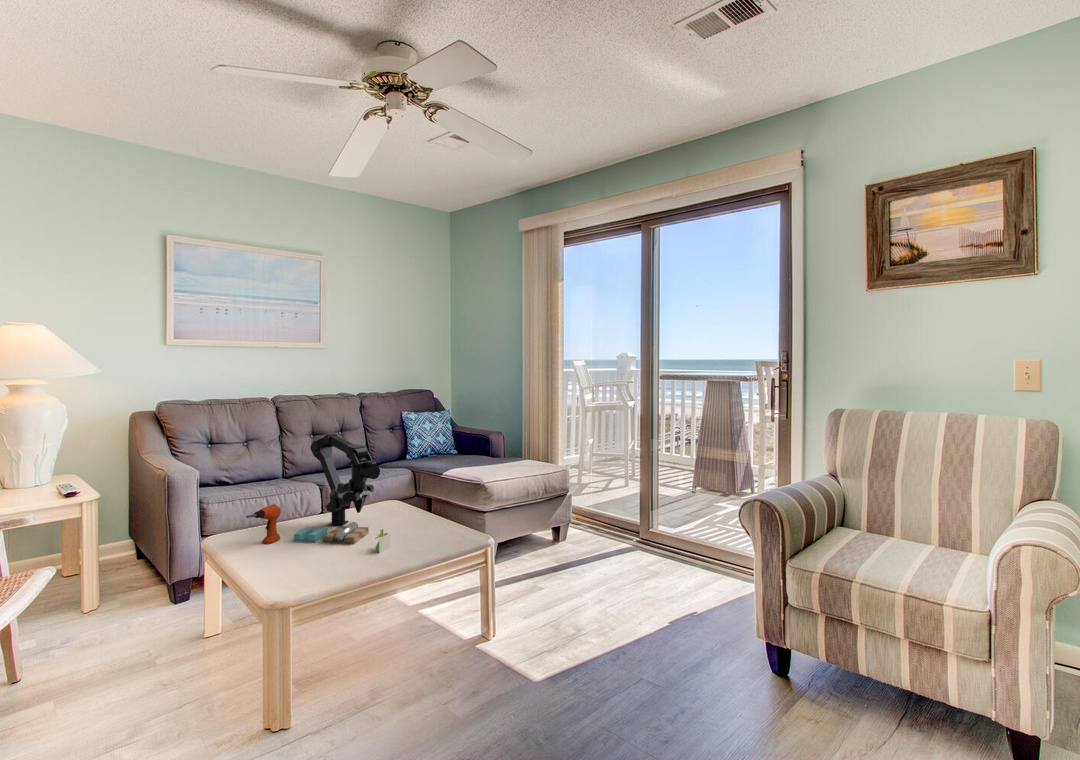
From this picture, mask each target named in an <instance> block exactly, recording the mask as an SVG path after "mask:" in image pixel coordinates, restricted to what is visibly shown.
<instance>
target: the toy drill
mask: <svg viewBox="0 0 1080 760" xmlns="http://www.w3.org/2000/svg"><path fill="white" fill-rule="evenodd" d="M281 511H282V509H281V507H280V506H279V505H277V504H276V503H273V504H271V505H268V506H264V507H263V508H261V509H259V510H257V511H255V512H254V513H252V514H247V515H246V516H245V518H246V519H249V518H255V519H263V520H267V522H266V526H265V530H266V535H265V537H263V539H262V540H261V544H263V545H272V544H274V543H277V542H278V541H280V540H281V536H280V533H278V530H277V521H278V519H279V517H280V516H281Z"/></svg>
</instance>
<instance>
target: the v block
mask: <svg viewBox="0 0 1080 760" xmlns="http://www.w3.org/2000/svg"><path fill="white" fill-rule="evenodd" d="M326 534H328V527H327V526H326V527H323V526H320V527H318V528H317V529H315V530H314V526H306V527H304V528H302V529H299V530H298V531H297V532H295V533H293V542H295V543H313V544H314V543H317V542H318V541H320V540H323V536H324V535H326Z"/></svg>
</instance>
